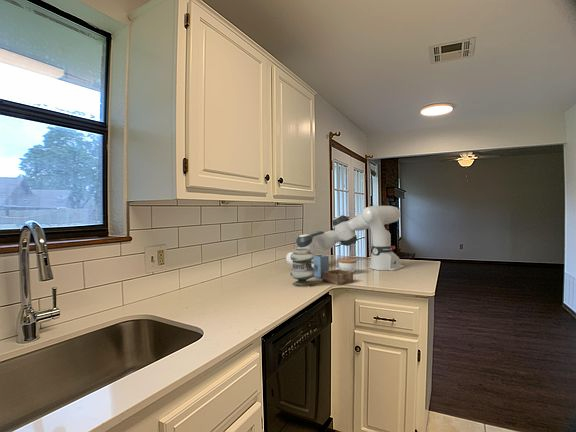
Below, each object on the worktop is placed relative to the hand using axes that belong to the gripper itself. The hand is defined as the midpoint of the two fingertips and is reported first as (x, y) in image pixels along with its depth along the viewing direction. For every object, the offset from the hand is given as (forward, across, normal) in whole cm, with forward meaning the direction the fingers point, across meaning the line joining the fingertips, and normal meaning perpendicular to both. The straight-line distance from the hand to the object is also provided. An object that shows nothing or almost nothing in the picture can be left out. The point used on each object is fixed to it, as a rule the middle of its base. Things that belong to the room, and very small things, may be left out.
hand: (321, 264), depth 181 cm
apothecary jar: (+6, +18, -7) cm, 20 cm away
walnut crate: (+12, 0, -7) cm, 14 cm away
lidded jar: (+1, -20, -7) cm, 21 cm away
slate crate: (0, 0, -7) cm, 7 cm away
